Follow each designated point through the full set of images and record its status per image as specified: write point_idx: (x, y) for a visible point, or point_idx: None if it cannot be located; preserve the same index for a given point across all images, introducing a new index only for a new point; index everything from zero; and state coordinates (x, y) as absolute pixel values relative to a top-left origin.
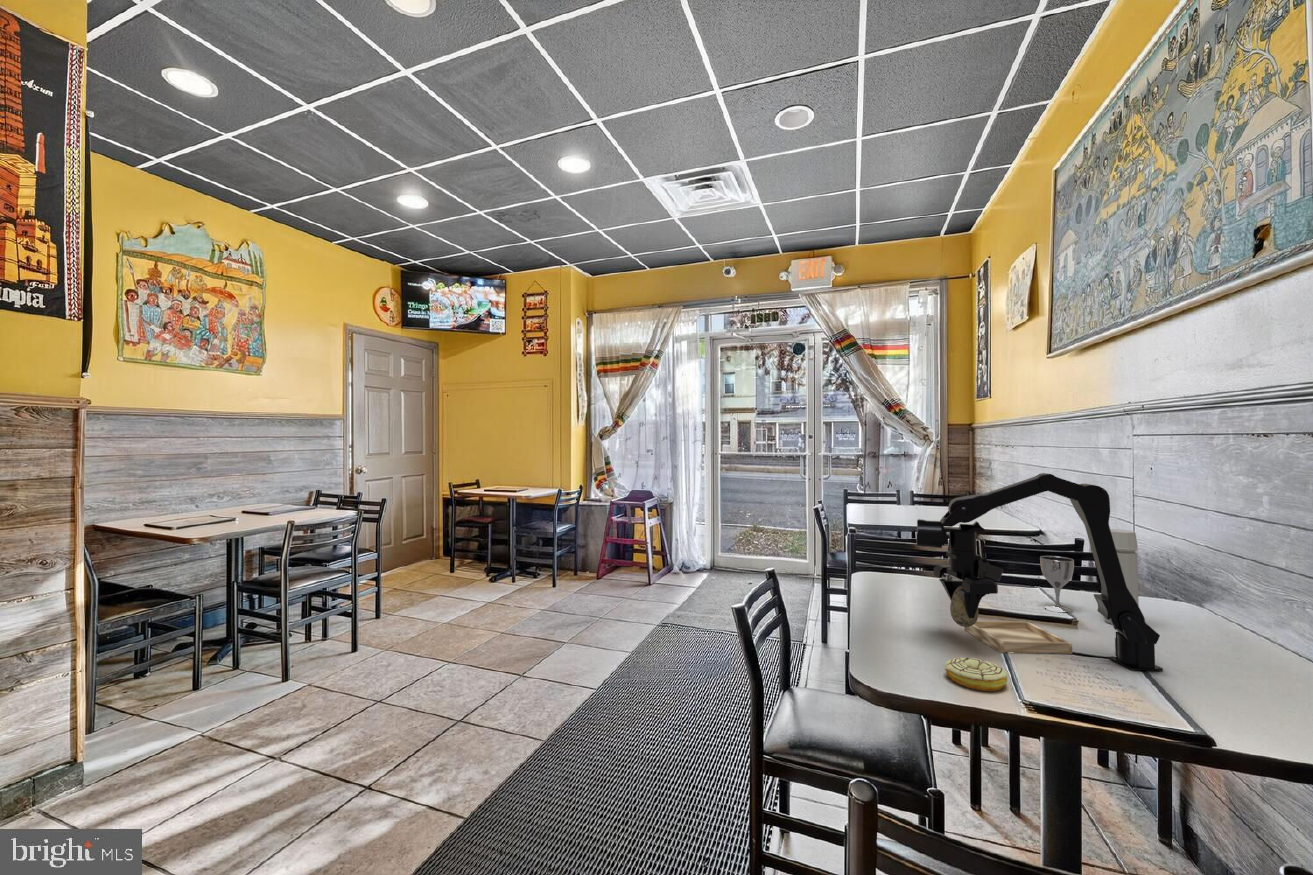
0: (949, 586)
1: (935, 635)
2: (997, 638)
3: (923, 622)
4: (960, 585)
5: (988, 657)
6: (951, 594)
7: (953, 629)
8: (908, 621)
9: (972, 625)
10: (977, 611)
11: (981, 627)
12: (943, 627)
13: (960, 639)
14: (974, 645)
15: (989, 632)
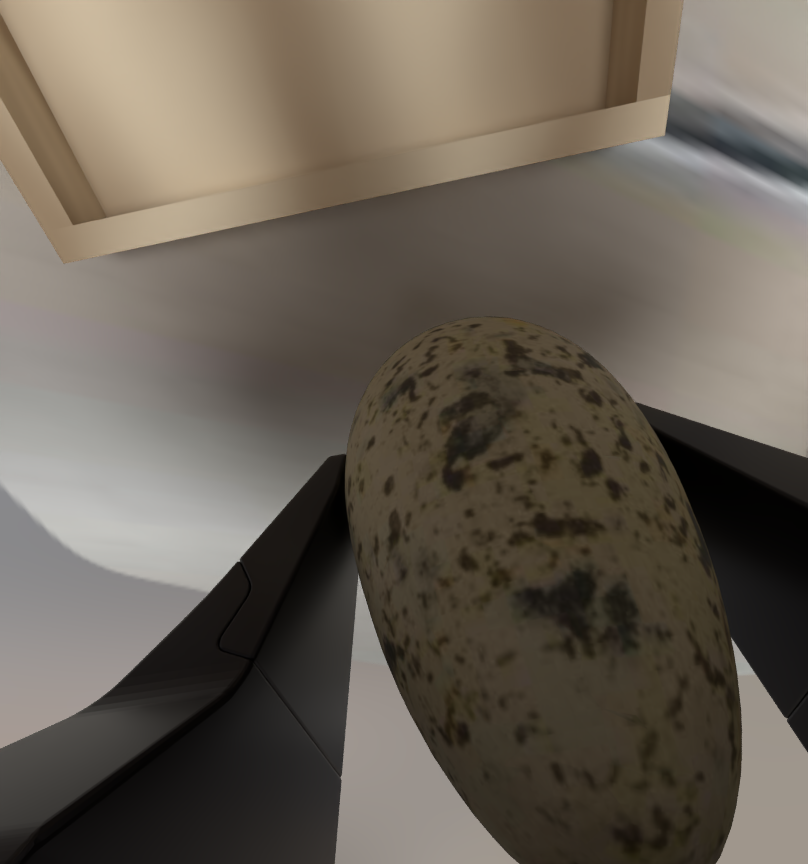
0: (319, 825)
1: (332, 455)
2: (342, 30)
3: (89, 468)
4: (231, 783)
5: (685, 270)
6: (339, 668)
7: (145, 328)
8: (121, 529)
9: (200, 232)
10: (607, 373)
11: (29, 79)
12: (133, 381)
13: (366, 341)
14: (471, 286)
15: (159, 42)
